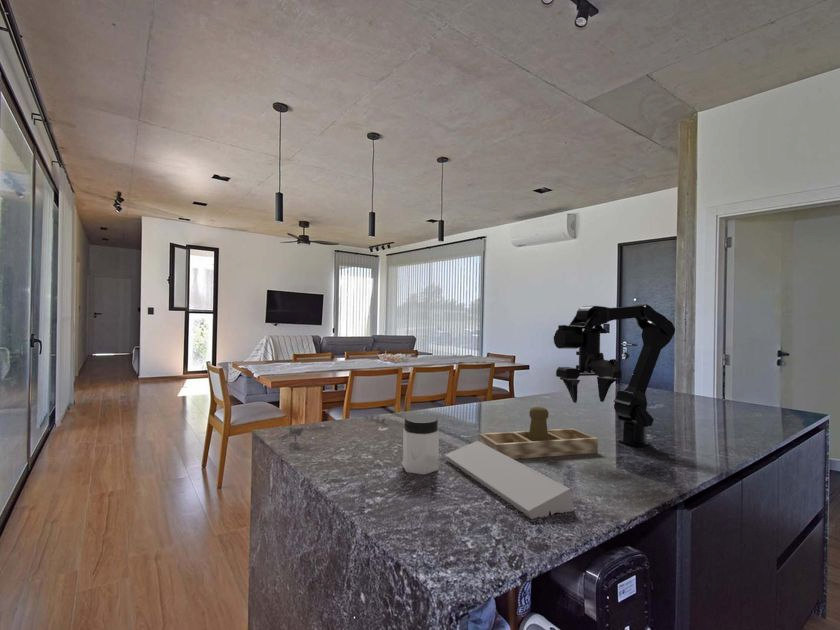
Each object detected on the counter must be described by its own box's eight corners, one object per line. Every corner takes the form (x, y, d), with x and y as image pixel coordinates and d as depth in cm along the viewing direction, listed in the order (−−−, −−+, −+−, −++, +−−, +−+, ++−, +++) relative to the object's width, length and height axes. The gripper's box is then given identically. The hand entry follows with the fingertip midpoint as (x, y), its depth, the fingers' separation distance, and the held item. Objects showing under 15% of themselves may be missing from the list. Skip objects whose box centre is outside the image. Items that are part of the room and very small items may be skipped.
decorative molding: (533, 535, 77) (574, 512, 81) (528, 510, 77) (569, 488, 81) (448, 472, 109) (481, 457, 112) (444, 454, 108) (477, 440, 112)
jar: (396, 471, 100) (397, 420, 100) (408, 460, 108) (409, 413, 108) (433, 476, 97) (434, 424, 97) (442, 465, 105) (443, 416, 105)
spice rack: (573, 441, 128) (573, 428, 128) (597, 452, 118) (597, 438, 118) (478, 447, 120) (479, 433, 120) (496, 460, 109) (496, 444, 109)
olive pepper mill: (531, 442, 123) (532, 404, 123) (552, 446, 120) (552, 407, 120) (524, 447, 118) (524, 407, 118) (545, 451, 115) (546, 410, 115)
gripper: (579, 350, 113) (578, 409, 113) (636, 350, 118) (635, 406, 118) (555, 347, 124) (554, 401, 124) (608, 348, 129) (608, 399, 129)
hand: (588, 402), depth 124 cm, fingers open, 9 cm apart
